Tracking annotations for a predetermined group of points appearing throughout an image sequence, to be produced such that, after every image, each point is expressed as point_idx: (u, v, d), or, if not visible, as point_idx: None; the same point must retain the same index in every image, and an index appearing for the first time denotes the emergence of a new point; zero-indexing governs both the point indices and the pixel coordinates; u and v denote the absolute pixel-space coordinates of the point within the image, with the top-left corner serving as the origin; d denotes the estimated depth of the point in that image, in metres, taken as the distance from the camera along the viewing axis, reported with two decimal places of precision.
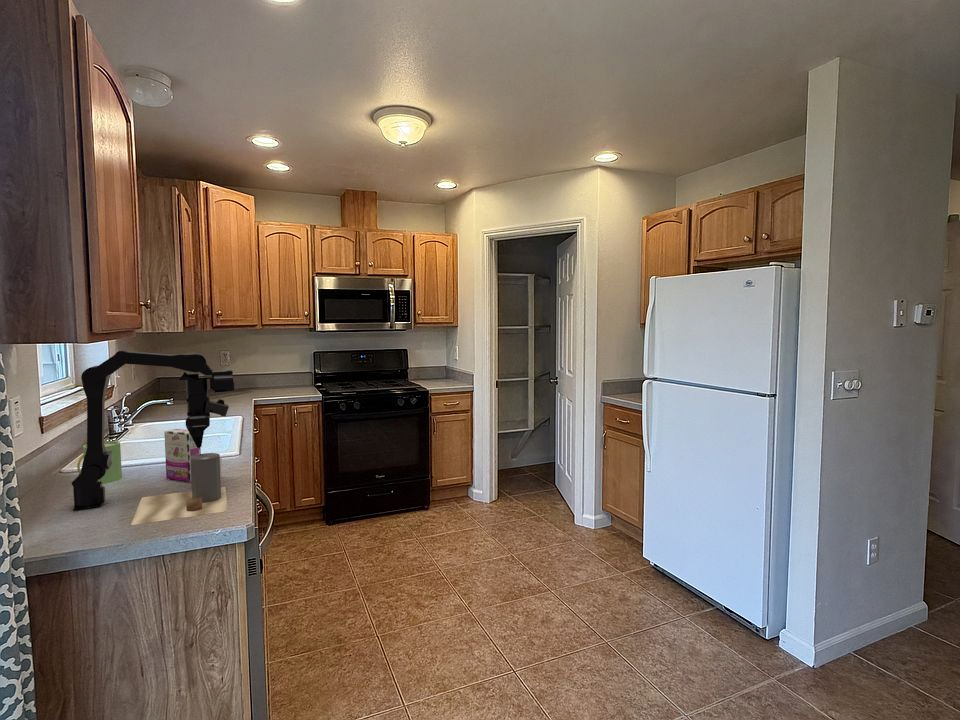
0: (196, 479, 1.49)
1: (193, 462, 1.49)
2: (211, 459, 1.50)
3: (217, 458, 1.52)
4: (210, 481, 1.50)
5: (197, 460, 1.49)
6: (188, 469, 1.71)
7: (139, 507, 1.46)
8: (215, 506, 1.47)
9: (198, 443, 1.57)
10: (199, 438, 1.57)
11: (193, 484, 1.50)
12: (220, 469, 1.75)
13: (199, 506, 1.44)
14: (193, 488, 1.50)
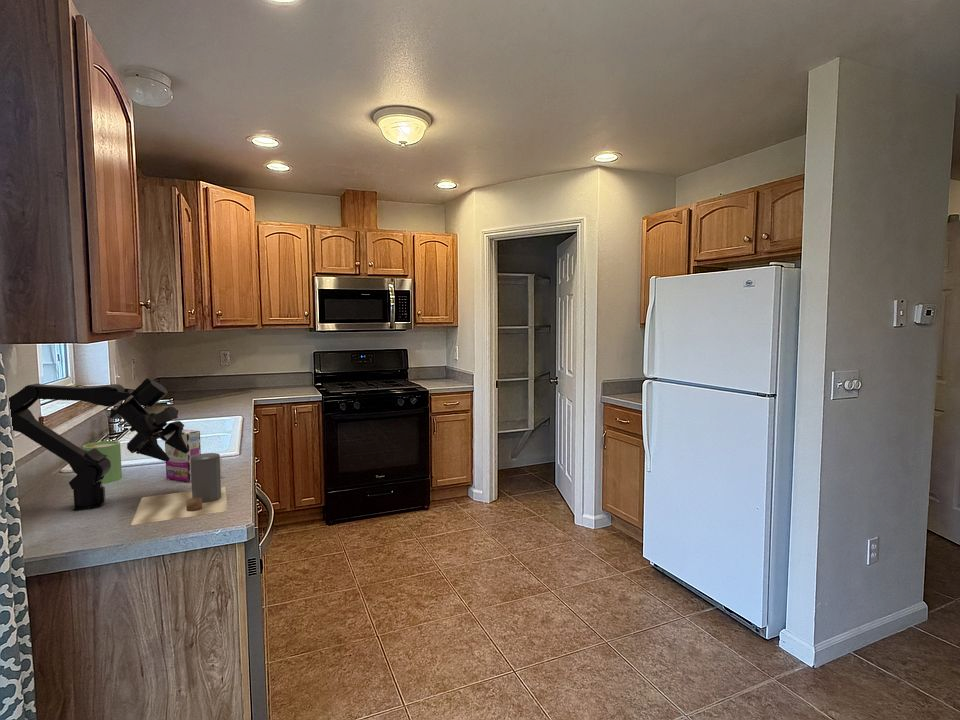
0: (196, 479, 1.49)
1: (193, 462, 1.49)
2: (211, 459, 1.50)
3: (217, 458, 1.52)
4: (210, 481, 1.50)
5: (197, 460, 1.49)
6: (188, 469, 1.71)
7: (139, 507, 1.46)
8: (215, 506, 1.47)
9: (163, 458, 1.47)
10: (159, 453, 1.47)
11: (193, 484, 1.50)
12: (220, 469, 1.75)
13: (199, 506, 1.44)
14: (193, 488, 1.50)
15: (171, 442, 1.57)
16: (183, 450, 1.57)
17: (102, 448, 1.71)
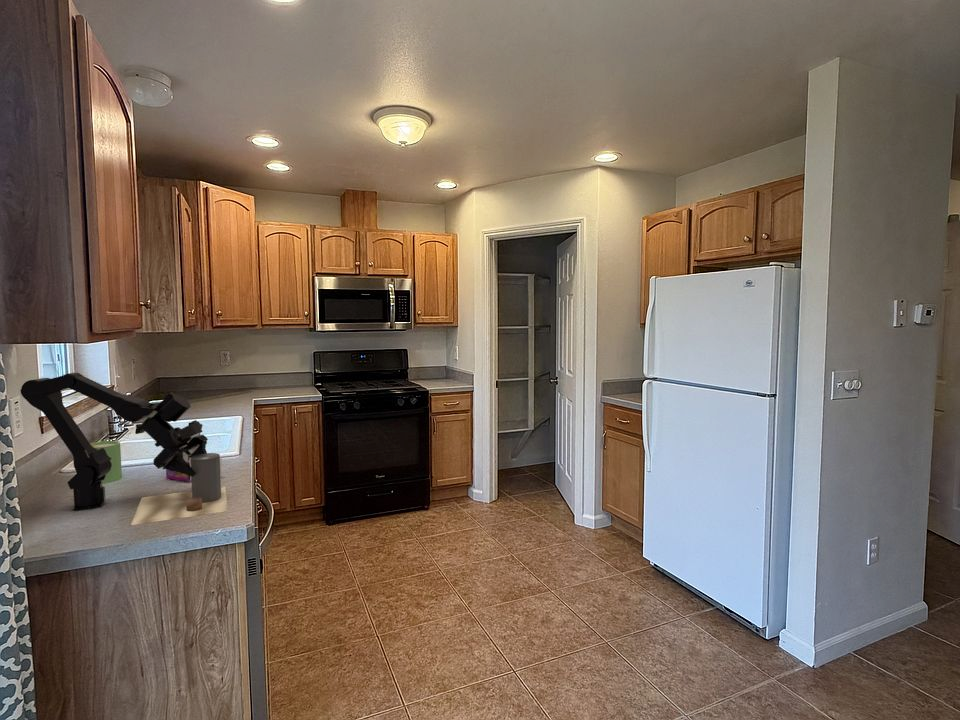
0: (196, 479, 1.49)
1: (193, 462, 1.49)
2: (211, 459, 1.50)
3: (217, 458, 1.52)
4: (210, 481, 1.50)
5: (197, 460, 1.49)
6: None
7: (139, 507, 1.46)
8: (215, 506, 1.47)
9: (189, 472, 1.47)
10: (185, 468, 1.47)
11: (193, 484, 1.50)
12: (220, 469, 1.75)
13: (199, 506, 1.44)
14: (193, 488, 1.50)
15: None
16: None
17: None
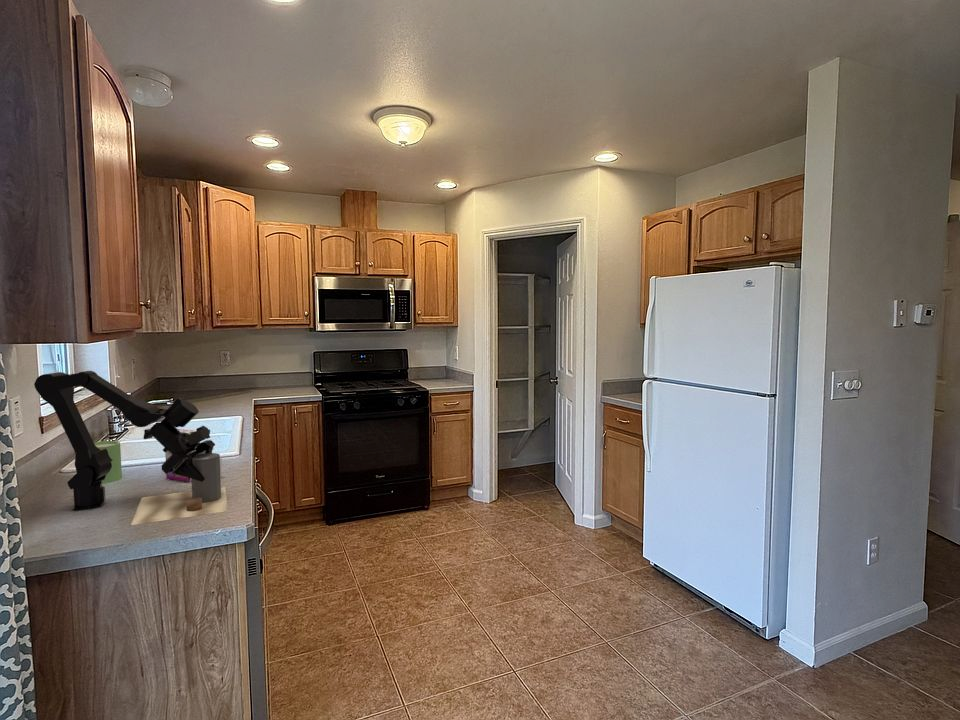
0: None
1: (193, 462, 1.49)
2: (211, 459, 1.50)
3: (217, 458, 1.52)
4: (210, 481, 1.50)
5: (197, 460, 1.49)
6: None
7: (139, 507, 1.46)
8: (215, 506, 1.47)
9: (198, 478, 1.48)
10: (194, 473, 1.48)
11: (193, 484, 1.50)
12: (220, 469, 1.75)
13: (199, 506, 1.44)
14: (193, 488, 1.50)
15: None
16: None
17: (102, 448, 1.71)
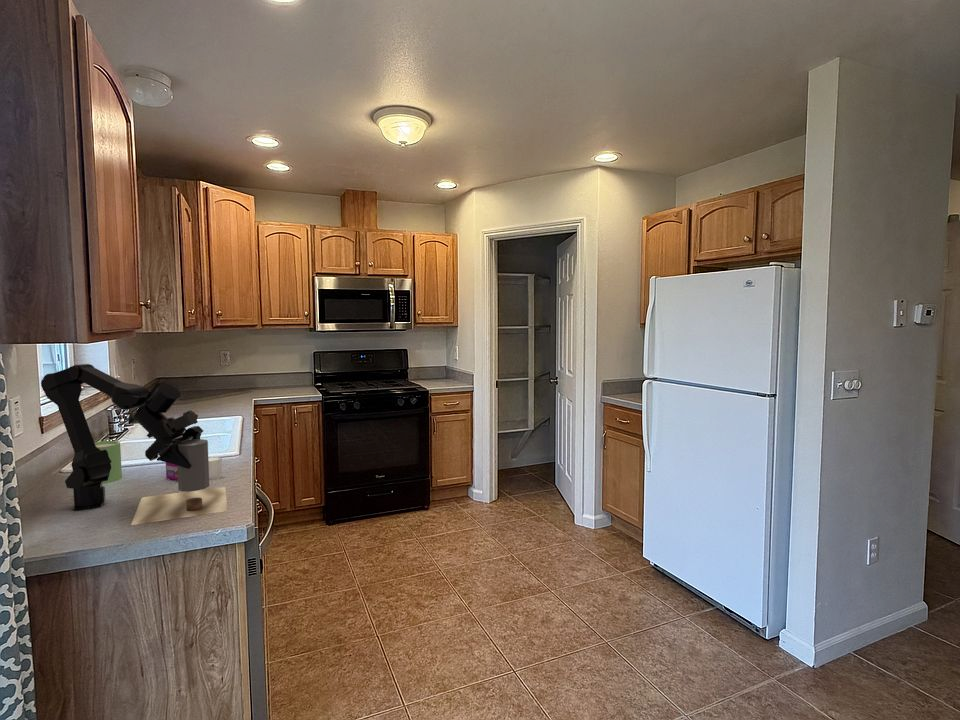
0: None
1: (179, 448, 1.40)
2: (198, 445, 1.42)
3: (205, 444, 1.43)
4: (197, 469, 1.42)
5: (183, 446, 1.40)
6: None
7: (139, 507, 1.46)
8: (215, 506, 1.47)
9: (184, 465, 1.40)
10: (180, 460, 1.39)
11: (179, 472, 1.41)
12: (220, 469, 1.75)
13: (199, 506, 1.44)
14: (179, 476, 1.41)
15: None
16: None
17: (102, 448, 1.71)
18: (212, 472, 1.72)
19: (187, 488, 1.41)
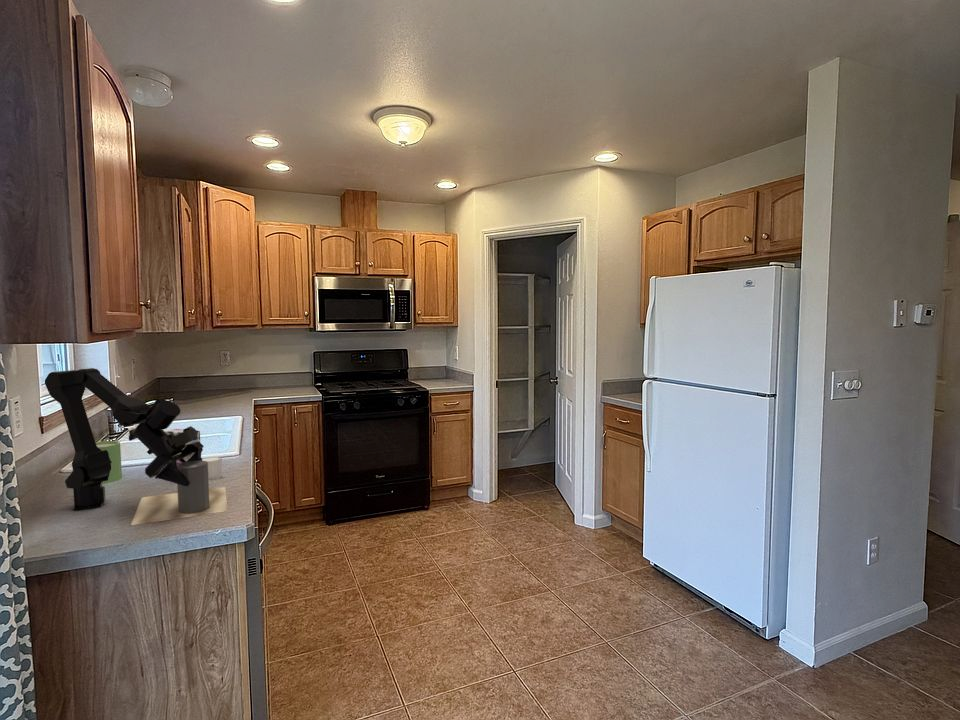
0: (183, 488, 1.41)
1: None
2: (198, 467, 1.42)
3: (205, 466, 1.44)
4: (197, 491, 1.42)
5: (183, 468, 1.40)
6: None
7: (139, 507, 1.46)
8: (215, 506, 1.47)
9: (183, 482, 1.39)
10: (178, 478, 1.38)
11: (180, 494, 1.41)
12: (220, 469, 1.75)
13: None
14: (179, 498, 1.41)
15: None
16: None
17: (102, 448, 1.71)
18: (212, 472, 1.72)
19: (187, 510, 1.41)
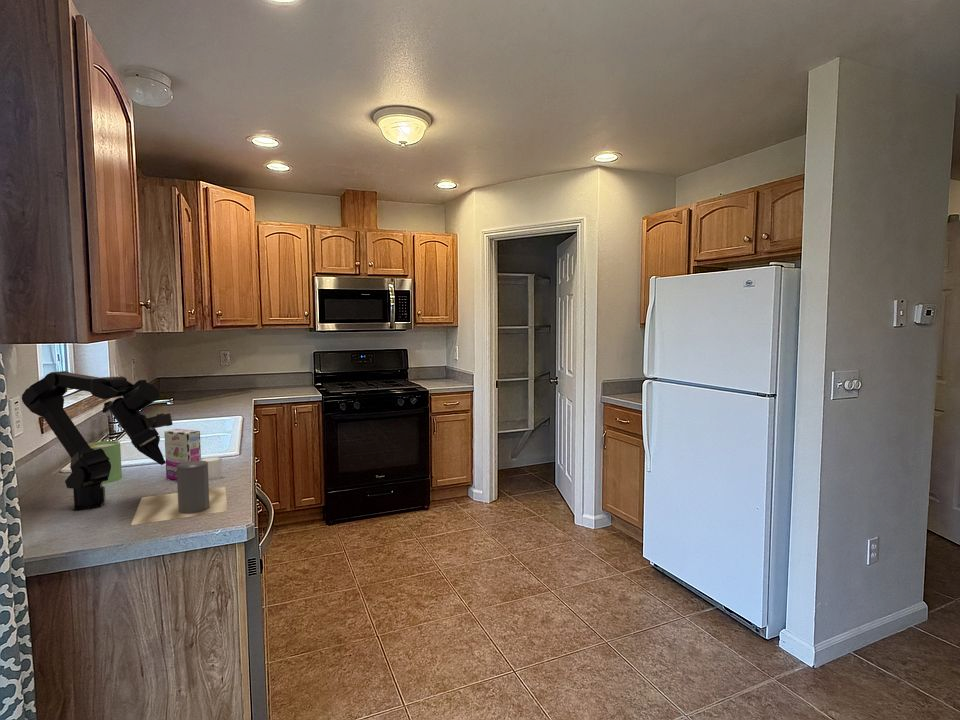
0: (183, 488, 1.41)
1: (179, 470, 1.41)
2: (198, 467, 1.42)
3: (205, 466, 1.44)
4: (197, 491, 1.42)
5: (183, 468, 1.40)
6: None
7: (139, 507, 1.46)
8: (215, 506, 1.47)
9: (160, 459, 1.43)
10: (158, 454, 1.43)
11: (180, 494, 1.41)
12: (220, 469, 1.75)
13: None
14: (179, 498, 1.41)
15: None
16: None
17: (102, 448, 1.71)
18: (212, 472, 1.72)
19: (187, 510, 1.41)
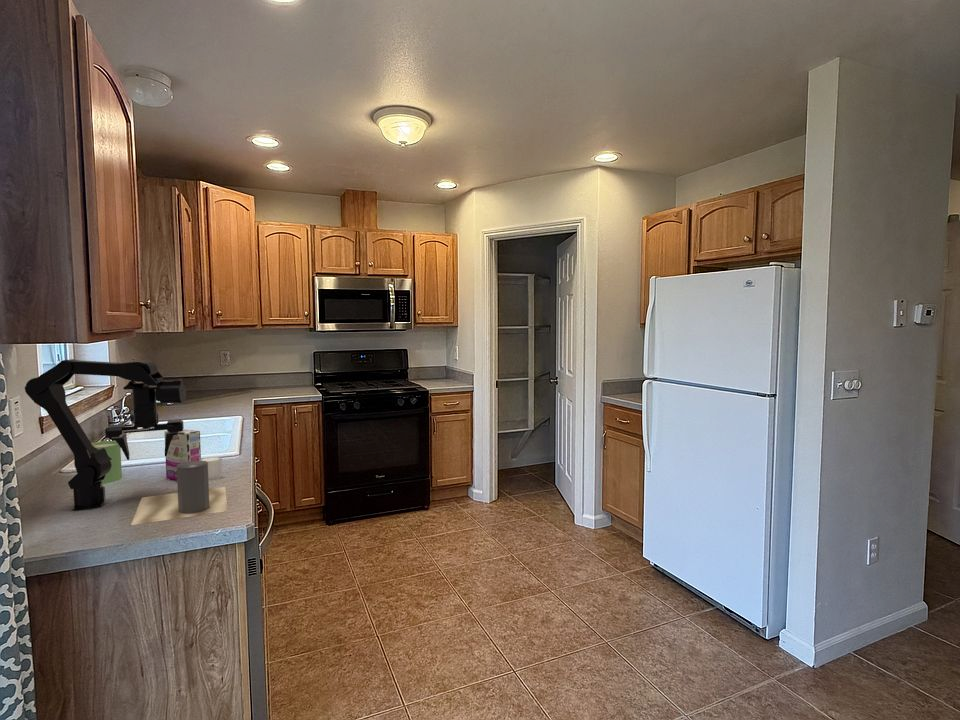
0: (183, 488, 1.41)
1: (179, 470, 1.41)
2: (198, 467, 1.42)
3: (205, 466, 1.44)
4: (197, 491, 1.42)
5: (183, 468, 1.40)
6: None
7: (139, 507, 1.46)
8: (215, 506, 1.47)
9: (167, 451, 1.55)
10: None
11: (180, 494, 1.41)
12: (220, 469, 1.75)
13: None
14: (179, 498, 1.41)
15: (125, 441, 1.49)
16: (128, 455, 1.50)
17: None
18: (212, 472, 1.72)
19: (187, 510, 1.41)
